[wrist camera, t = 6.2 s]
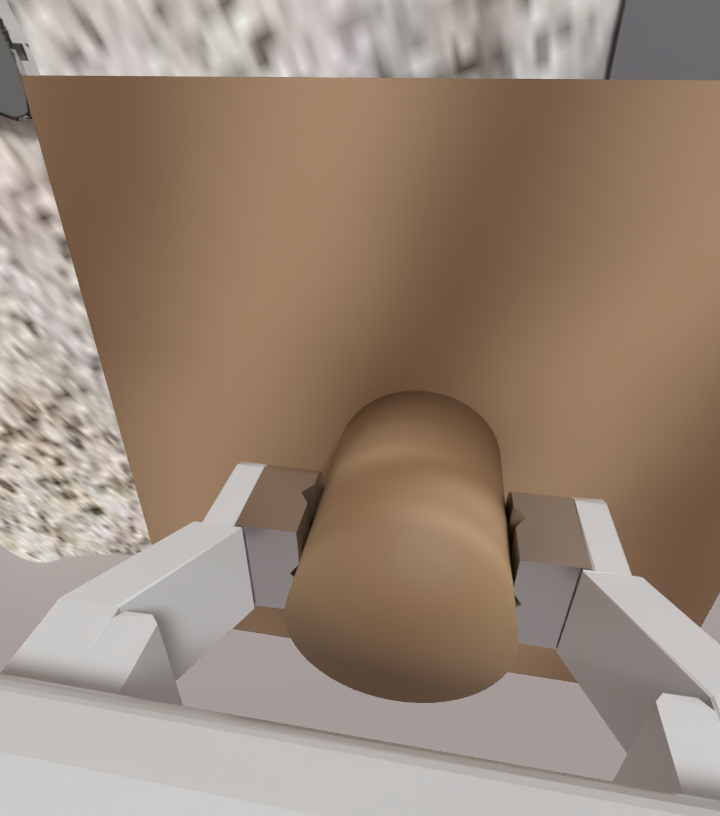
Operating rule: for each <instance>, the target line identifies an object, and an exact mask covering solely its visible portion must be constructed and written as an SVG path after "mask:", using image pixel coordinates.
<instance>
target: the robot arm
mask: <svg viewBox="0 0 720 816" xmlns="http://www.w3.org/2000/svg"><path fill="white" fill-rule="evenodd" d="M324 488H325V487H324V475H323V473H322V472H321V471H316V470H308V469H301V468H293V467H285V466H278V465H270V464H269V465H266V464H259V463H251V462H243V461H242V462H241V463H239V464H237V465H236V466H235V468H234V470H233V471H232V473H231V475H230V476H229V478H228V480H227V481H226V483H225V485H224V486H223V488H222V490H221V491H220V493H219V495H218V496H217V498H216V500H215V501H214V503H213V505H212V506H211V508H210V510H209V511H208V513H207V514H206V516H205V518H204V519H203V521H202V522H195V521H194V522H192V523H190V524H188V525H187V526H185V527H183V528H181V529H180V530H178V531H176V532H174V533H173V534H171V535H169V536H167V537H166V538H164V539H162V540H160V541H159V542H157V543H155V544H153V545H152V546H150V547H148V548H146V549H145V550H143V551H141V552H139V553H138V554H136V555H134V556H132V557H131V558H129V559H127V560H126V561H124V562H122V563H120V564H118V565H117V566H115V567H113V568H111V569H110V570H108V571H106V572H104V573H103V574H101V575H99V576H97V577H96V578H94V579H92V580H90V581H89V582H87V583H85V584H84V585H82V586H80V587H78V588H76V589H74V590H73V591H71V592H69V593H68V594H66V595H64V596H62V597H61V598H59V599H58V601H57V602H56V603H55V605H54V606H53V607H52V608H51V610H50V611H49V612H48V613H47V615H46V616H45V617H44V619H43V620H42V621H41V622H40V624H39V625H38V626H37V627H36V629H35V630H34V631H33V632H32V634H31V635H30V636H29V637H28V639H27V640H26V641H25V643H24V644H23V645H22V646H21V648H20V649H19V650H18V651H17V653H16V654H15V655H14V656H13V658H12V659H11V660H10V661H9V663H8V664H7V665H6V666H5V668H4V669H3V670H2V672H1V673H0V816H720V645H719V644H718V643H717V642H716V641H715V640H714V639H713V638H711V637H710V636H709V635H708V634H707V633H706V632H705V631H703V630H702V629H701V628H700V627H699V626H698V625H697V624H695V623H694V622H693V621H692V620H691V619H690V618H689V617H687V616H686V615H685V614H684V613H683V612H682V611H680V610H679V609H678V608H677V607H676V606H675V605H674V604H672V603H671V602H670V601H669V600H668V599H667V598H666V597H664V596H663V595H662V594H661V593H660V592H659V591H658V590H656V589H655V588H654V587H653V586H652V585H651V584H650V583H648V582H647V581H646V580H645V579H644V578H643V577H637V576H632V574H631V571H630V568H629V565H628V563H627V560H626V557H625V554H624V551H623V548H622V545H621V543H620V540H619V537H618V534H617V531H616V528H615V526H614V523H613V520H612V517H611V514H610V511H609V509H608V506H607V503H606V502H605V501H603V500H602V499H591V498H579V497H571V498H569V497H560V496H550V495H540V494H530V493H520V492H510V491H509V494H508V496H507V500H506V505H505V506H506V516H507V526H508V536H509V546H510V556H511V566H512V576H513V586H514V596H515V605H516V615H517V625H518V637H519V643H522V644H528V645H534V646H540V647H546V648H551V649H557V651H556V652H557V654H558V655H559V657H560V658H561V659H562V661H563V662H564V664H565V665H566V667H567V668H568V669H569V671H570V672H571V674H572V675H573V677H574V678H575V679H576V681H577V682H578V684H579V685H580V687H581V688H582V690H583V691H584V692H585V694H586V695H587V697H588V698H589V699H590V701H591V702H592V704H593V705H594V707H595V708H596V709H597V711H598V712H599V714H600V715H601V717H602V718H603V720H604V721H605V722H606V724H607V725H608V727H609V728H610V730H611V731H612V733H613V734H614V735H615V737H616V738H617V740H618V741H619V742H620V744H621V745H622V747H623V748H624V749H625V751H626V753H627V756H626V758H625V760H624V762H623V764H622V765H621V767H620V769H619V771H618V773H617V775H616V777H615V778H614V780H613V782H610V781H605V780H600V779H594V778H588V777H583V776H577V775H571V774H566V773H560V772H554V771H548V770H542V769H537V768H532V767H526V766H520V765H515V764H509V763H504V762H497V761H492V760H486V759H480V758H475V757H469V756H463V755H458V754H452V753H446V752H441V751H435V750H430V749H424V748H418V747H413V746H407V745H401V744H396V743H390V742H384V741H379V740H373V739H367V738H362V737H356V736H350V735H344V734H339V733H333V732H327V731H322V730H316V729H311V728H305V727H299V726H294V725H288V724H282V723H277V722H271V721H265V720H260V719H254V718H248V717H243V716H236V715H232V714H226V713H220V712H215V711H209V710H203V709H198V708H192V707H186V706H183V704H182V702H181V698H180V695H179V692H178V688H177V685H176V682H175V681H176V680H177V679H178V678H179V677H181V676H182V675H183V674H184V673H185V672H186V671H187V670H188V669H189V668H190V667H191V666H193V665H194V664H195V663H196V662H197V661H198V660H199V659H200V658H201V657H202V656H203V655H205V654H206V653H207V652H208V651H209V650H210V649H211V648H212V647H213V646H214V645H215V644H216V643H218V642H219V640H221V639H222V638H223V637H224V636H225V635H226V634H227V633H228V632H229V631H231V630H232V629H233V628H234V627H235V626H236V625H237V624H238V623H239V622H240V621H241V620H243V619H244V618H245V617H246V616H247V615H248V614H249V613H250V612H251V611H252V610H253V609H254V605H255V606H264V607H272V608H281V609H285V604H286V599H287V596H288V593H289V591H290V588H291V585H292V582H293V579H294V576H295V573H296V570H297V567H298V564H299V561H300V558H301V556H302V553H303V550H304V547H305V544H306V541H307V538H308V535H309V532H310V529H311V526H312V523H313V520H314V518H315V515H316V512H317V509H318V506H319V503H320V500H321V497H322V494H323V491H324Z"/></svg>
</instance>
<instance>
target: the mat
mask: <svg viewBox="0 0 720 816" xmlns="http://www.w3.org/2000/svg"><path fill="white" fill-rule="evenodd" d="M608 80H720V0H624V4H623V9H622V14H621V19H620V23H619V28H618V33H617V37H616V42H615V47H614V51H613V56H612V61H611V66H610V70H609V75H608Z"/></svg>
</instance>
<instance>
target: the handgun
mask: <svg viewBox="0 0 720 816" xmlns="http://www.w3.org/2000/svg"><path fill="white" fill-rule="evenodd" d="M20 75H29V76H40V74H39V71H38V68H37V66H36V63H35V60H34V58H33V55H32V53H31V50H30V48H29V46H28V44H27V41H26V39H25V37H24V35H23V33H22V31H21V29H20V27H19V25H18V23H17V21H16V19H15V17H14V15H13V13H12V11H11V9H10V7H9V5H8V3H7V0H0V115H2V116H5V117H8V118H10V119H13V120H16V121H26V120H33V118H32V115H31V111H30V108H29V104H28V101H27V97H26V93H25V90H24V86H23V83H22V79H21V76H20Z"/></svg>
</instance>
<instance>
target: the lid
mask: <svg viewBox="0 0 720 816" xmlns="http://www.w3.org/2000/svg"><path fill="white" fill-rule="evenodd" d="M20 76H21V79H22V83H23V86H24V90H25V93H26V97H27V101H28V104H29V108H30V111H31V115H32V118H33V122H34V126H35V129H36V133H37V136H38V140H39V143H40V147H41V151H42V154H43V158H44V161H45V165H46V168H47V172H48V176H49V179H50V183H51V186H52V190H53V193H54V197H55V201H56V204H57V208H58V211H59V215H60V218H61V222H62V225H63V229H64V233H65V236H66V240H67V243H68V247H69V250H70V254H71V258H72V261H73V265H74V268H75V272H76V275H77V279H78V283H79V286H80V290H81V293H82V297H83V300H84V304H85V308H86V311H87V315H88V318H89V322H90V325H91V329H92V333H93V336H94V340H95V343H96V347H97V350H98V354H99V357H100V361H101V365H102V368H103V372H104V375H105V379H106V382H107V386H108V390H109V393H110V397H111V400H112V404H113V407H114V411H115V415H116V418H117V422H118V425H119V429H120V432H121V436H122V440H123V443H124V447H125V450H126V454H127V457H128V461H129V464H130V468H131V472H132V475H133V479H134V482H135V486H136V489H137V493H138V497H139V500H140V504H141V507H142V511H143V514H144V518H145V522H146V525H147V529H148V532H149V536H150V539H151V543H152V545H153V544H155V543H157V542H159V541H160V540H162V539H164V538H166V537H167V536H169V535H171V534H173V533H174V532H176V531H178V530H180V529H181V528H183V527H185V526H187V525H188V524H190V523H192V522H194V521H195V522H202V521H203V519H204V518H205V516H206V514H207V513H208V511H209V510H210V508H211V506H212V505H213V503H214V501H215V500H216V498H217V496H218V495H219V493H220V491H221V490H222V488H223V486H224V485H225V483H226V481H227V480H228V478H229V476H230V475H231V473H232V471H233V470H234V468H235V466H236V465H237V464H239V463H241V462H242V461H243V462H251V463H259V464H266V465H269V464H270V465H278V466H285V467H293V468H301V469H308V470H316V471H321V472H322V473H323V475H324V487H325V488H324V491H323V494H322V497H321V500H320V503H319V506H318V509H317V512H316V515H315V518H314V520H313V523H312V526H311V529H310V532H309V535H308V538H307V541H306V544H305V547H304V550H303V553H302V556H301V558H300V561H299V564H298V567H297V570H296V573H295V576H294V579H293V582H292V585H291V588H290V591H289V593H288V596H287V599H286V604H285V609H281V608H272V607H264V606H255V605H254V609H253V610H252V611H251V612H250V613H249V614H248V615H247V616H246V617H245V618H244V619H243V620H241V621H240V622H239V623H238V624H237V625H236V626H235V627H234V628H233V629H237V630H244V631H250V632H256V633H262V634H269V635H275V636H282V637H288V638H291V639H292V641H293V642H294V644H295V646H296V647H297V648H298V650H299V651H300V652H301V653H302V655H303V656H304V657H305V658H306V659H307V660H308V661H309V662H310V663H311V664H313V665H314V666H315V667H316V668H318V669H319V670H320V671H322V672H323V673H324V674H326V675H327V676H329V677H330V678H332V679H334V680H336V681H338V682H339V683H341V684H343V685H346V686H348V687H350V688H352V689H354V690H357V691H360V692H363V693H366V694H369V695H372V696H376V697H379V698H384V699H389V700H395V701H402V702H414V703H435V702H445V701H450V700H456V699H460V698H464V697H468V696H471V695H473V694H476V693H478V692H481V691H483V690H485V689H487V688H488V687H490V686H492V685H493V684H495V683H496V682H497V681H499V680H500V679H501V678H502V677H503V676H504V675H505V674H506V673H507V672H512V673H518V674H524V675H530V676H537V677H543V678H550V679H556V680H562V681H569V682H575V683H578V682H577V681H576V679H575V678H574V677H573V675H572V674H571V672H570V671H569V669H568V668H567V667H566V665H565V664H564V662H563V661H562V659H561V658H560V657H559V655H558V654H557V652H556V651H557V649H551V648H546V647H540V646H534V645H528V644H522V643H519V637H518V625H517V615H516V605H515V596H514V586H513V576H512V566H511V556H510V546H509V536H508V526H507V516H506V506H505V505H506V500H507V496H508V494H509V491H510V492H520V493H530V494H540V495H550V496H560V497H569V498H571V497H579V498H591V499H602V500H603V501H605V502H606V503H607V506H608V509H609V511H610V514H611V517H612V520H613V523H614V526H615V528H616V531H617V534H618V537H619V540H620V543H621V545H622V548H623V551H624V554H625V557H626V560H627V563H628V565H629V568H630V571H631V574H632V576H637V577H643V578H644V579H645V580H646V581H647V582H648V583H650V584H651V585H652V586H653V587H654V588H655V589H656V590H658V591H659V592H660V593H661V594H662V595H663V596H664V597H666V598H667V599H668V600H669V601H670V602H671V603H672V604H674V605H675V606H676V607H677V608H678V609H679V610H680V611H682V612H683V613H684V614H685V615H686V616H687V617H689V618H690V619H691V620H692V621H693V622H694V623H695V624H697V625H698V626H699V627H701V626H702V624H703V622H704V620H705V618H706V616H707V615H708V613H709V611H710V609H711V607H712V606H713V604H714V602H715V600H716V598H717V596H718V594H719V593H720V80H587V79H448V78H308V77H168V76H29V75H20Z"/></svg>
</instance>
